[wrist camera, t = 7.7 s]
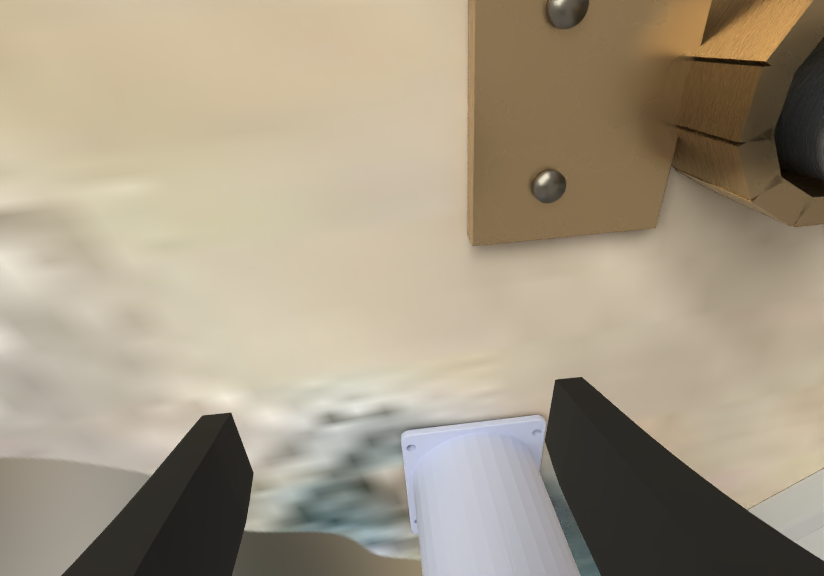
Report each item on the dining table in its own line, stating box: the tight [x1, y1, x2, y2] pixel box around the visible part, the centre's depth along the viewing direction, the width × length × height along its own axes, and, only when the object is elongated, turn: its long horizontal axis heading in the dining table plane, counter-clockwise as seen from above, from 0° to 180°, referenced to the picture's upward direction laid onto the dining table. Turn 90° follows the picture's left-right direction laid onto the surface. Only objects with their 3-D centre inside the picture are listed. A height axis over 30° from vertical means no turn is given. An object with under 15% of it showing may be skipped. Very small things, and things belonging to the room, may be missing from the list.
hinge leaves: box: [468, 0, 824, 246], centre depth 14 cm, size 10×23×4 cm, turn 94°
